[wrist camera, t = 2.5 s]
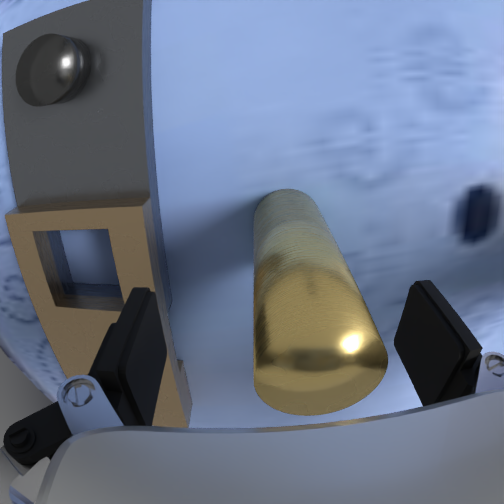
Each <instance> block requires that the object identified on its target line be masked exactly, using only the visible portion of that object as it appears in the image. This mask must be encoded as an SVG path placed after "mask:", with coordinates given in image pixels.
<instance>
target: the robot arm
mask: <svg viewBox="0 0 504 504" xmlns="http://www.w3.org/2000/svg"><path fill="white" fill-rule="evenodd" d="M394 346H395V348H396V350H397V352H398V354H399V356H400V358H401V360H402V362H403V365H404V367H405V369H406V371H407V373H408V375H409V377H410V379H411V381H412V383H413V385H414V388H415V390H416V392H417V394H418V396H419V398H420V401H421V403H422V405H423V407H418V408H414V409H409V410H404V411H399V412H394V413H389V414H383V415H378V416H372V417H366V418H359V419H352V420H345V421H337V422H329V423H320V424H310V425H298V426H284V427H266V428H181V427H161V426H152V423H153V418H154V413H155V408H156V403H157V399H158V394H159V389H160V385H161V380H162V376H163V371H164V367H165V362H166V358H167V346H166V342H165V337H164V333H163V328H162V323H161V318H160V314H159V309H158V303H157V298H156V294H155V292H151V291H150V288H148V287H134V288H133V289H132V290H131V292H130V294H129V297H128V299H127V301H126V303H125V305H124V307H123V309H122V311H121V314H120V316H119V318H118V320H117V322H116V323H112V324H111V325H110V326H109V328H108V330H107V333H106V335H105V337H104V339H103V341H102V343H101V346H100V348H99V350H98V352H97V355H96V357H95V359H94V361H93V364H92V366H91V368H90V371H89V373H88V375H76V376H73V377H70V378H68V379H67V380H65V381H64V382H63V383H62V384H61V385H60V387H59V389H58V392H57V399H58V401H57V402H55V403H53V404H51V405H50V406H48V407H46V408H44V409H42V410H40V411H38V412H36V413H34V414H32V415H30V416H28V417H26V418H24V419H22V420H20V421H18V422H16V423H14V424H13V425H11V426H10V427H9V428H8V430H7V431H6V433H5V435H4V441H3V442H4V445H3V446H2V447H1V448H0V504H34V503H35V504H504V355H502V354H500V353H497V352H488V353H485V354H484V355H483V356H482V355H481V353H480V352H481V350H482V347H481V345H480V344H479V342H478V341H477V340H476V338H475V337H474V335H473V334H472V333H471V331H470V330H469V329H468V327H467V326H466V325H465V323H464V322H463V321H462V319H461V318H460V317H459V315H458V314H457V313H456V312H455V310H454V309H453V308H452V306H451V305H450V304H449V303H448V301H447V300H446V299H445V298H444V296H443V295H442V294H441V293H440V292H439V290H438V289H437V288H436V287H435V285H434V284H433V283H432V282H431V281H430V280H422V281H416V282H415V283H414V285H411V287H410V290H409V293H408V297H407V300H406V303H405V307H404V310H403V313H402V316H401V320H400V323H399V326H398V329H397V332H396V335H395V338H394ZM35 501H36V502H35Z"/></svg>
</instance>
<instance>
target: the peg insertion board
mask: <svg viewBox="0 0 504 504" xmlns="http://www.w3.org/2000/svg"><path fill="white" fill-rule="evenodd" d="M151 2H152V0H88V1H85V2H82V3H78V4H75V5H72V6H69V7H66V8H63V9H61V10H58V11H55V12H52V13H50V14H47V15H44V16H42V17H39V18H37V19H34V20H32V21H30V22H27V23H25V24H23V25H20V26H18V27H16V28H14V29H12V30H10V31H7V32H5V33H3V47H2V92H3V111H4V123H5V133H6V142H7V150H8V157H9V164H10V170H11V176H12V182H13V187H14V192H15V197H16V202H17V207H16V208H14V209H13V210H11V211H10V212H8V213H7V214H5V218H6V222H7V226H8V230H9V234H10V237H11V241H12V244H13V248H14V251H15V255H16V258H17V261H18V264H19V267H20V270H21V273H22V276H23V279H24V282H25V285H26V287H27V290H28V293H29V296H30V298H31V301H32V303H33V306H34V308H35V311H36V313H37V316H38V318H39V321H40V323H41V325H42V328H43V330H44V332H45V334H46V337H47V339H48V341H49V343H50V345H51V347H52V350H53V352H54V354H55V356H56V358H57V360H58V362H59V364H60V366H61V368H62V370H63V372H64V374H65V375H66V377H67V379H68V378H70V377H73V376H76V375H88V373H89V371H90V368H91V366H92V364H93V361H94V359H95V357H96V355H97V352H98V350H99V348H100V346H101V343H102V341H103V339H104V337H105V335H106V333H107V330H108V328H109V326H110V325H111V324H112V323H116V322H117V320H118V318H119V316H120V314H121V311H122V309H123V307H124V305H125V303H126V301H127V299H128V297H129V294H130V292H131V290H132V289H133V288H134V287H148V288H150V291H151V292H155V294H156V298H157V303H158V309H159V314H160V318H161V323H162V328H163V333H164V337H165V342H166V346H167V358H166V362H165V367H164V371H163V376H162V380H161V385H160V389H159V394H158V399H157V403H156V408H155V413H154V418H153V423H152V425H153V426H161V427H181V428H189V421H190V415H191V409H192V400H191V395H190V391H189V386H188V382H187V377H186V372H185V368H184V363H183V361H182V360H177V358H176V353H175V349H174V344H173V339H172V334H171V329H170V324H169V319H168V312H169V309H170V306H171V303H172V297H171V291H170V284H169V277H168V271H167V264H166V257H165V249H164V241H163V233H162V225H161V216H160V207H159V198H158V187H157V176H156V164H155V151H154V136H153V119H152V95H151ZM82 229H108V231H109V236H110V242H111V247H112V252H113V256H114V261H115V266H116V270H117V275H118V279H119V283H120V285H100V284H78V283H73V280H72V277H71V274H70V270H69V267H68V263H67V259H66V256H65V252H64V248H63V244H62V240H61V236H60V231H59V230H82Z"/></svg>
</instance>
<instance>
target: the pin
mask: <svg viewBox="0 0 504 504" xmlns="http://www.w3.org/2000/svg"><path fill="white" fill-rule="evenodd" d="M387 365H388V355H387V351H386V349H385V346H384V344H383V342H382V339H381V337H380V335H379V332H378V330H377V328H376V326H375V323H374V321H373V319H372V317H371V315H370V312H369V310H368V308H367V306H366V304H365V301H364V299H363V297H362V295H361V293H360V291H359V289H358V286H357V284H356V282H355V280H354V278H353V276H352V274H351V272H350V270H349V268H348V266H347V264H346V262H345V260H344V258H343V256H342V254H341V252H340V250H339V248H338V246H337V244H336V242H335V240H334V238H333V236H332V234H331V232H330V230H329V228H328V226H327V224H326V222H325V220H324V218H323V217H322V215H321V213H320V211H319V209H318V207H317V205H316V204H315V202H314V201H313V200H312V199H311V198H310V197H309V196H308V195H307V194H305V193H303V192H301V191H298V190H294V189H281V190H277V191H274V192H272V193H270V194H269V195H267V196H266V197H265V198H263V200H262V201H261V202H260V203H259V204H258V206H257V208H256V211H255V214H254V387H255V390H256V392H257V394H258V396H259V397H260V398H261V399H262V400H263V401H264V402H265V403H266V404H267V405H269V406H271V407H272V408H274V409H276V410H279V411H281V412H284V413H289V414H294V415H304V416H310V415H322V414H327V413H332V412H335V411H339V410H342V409H344V408H347V407H349V406H351V405H353V404H355V403H357V402H359V401H360V400H362V399H363V398H365V397H366V396H367V395H369V394H370V393H371V392H372V391H373V390H374V389H375V388H376V387H377V386H378V384H379V383H380V382H381V380H382V379H383V377H384V375H385V373H386V369H387Z"/></svg>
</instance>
